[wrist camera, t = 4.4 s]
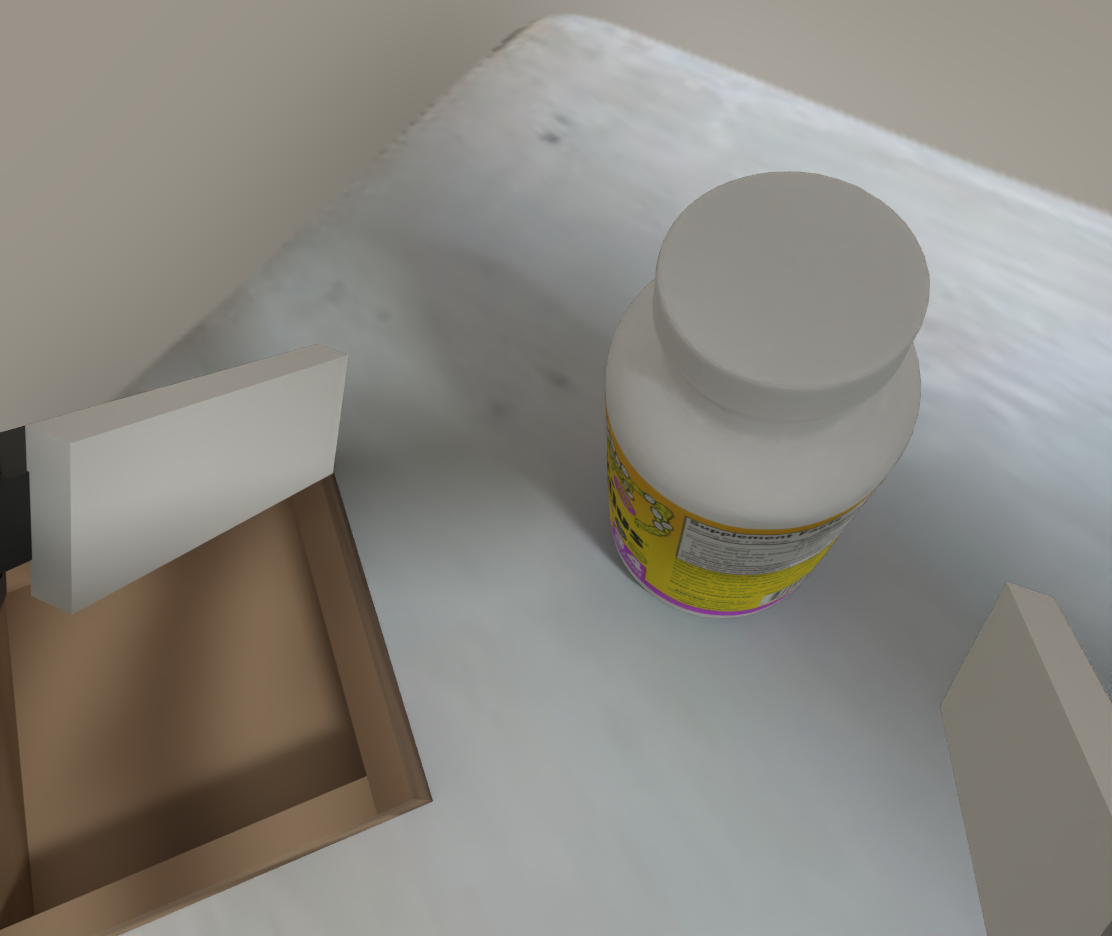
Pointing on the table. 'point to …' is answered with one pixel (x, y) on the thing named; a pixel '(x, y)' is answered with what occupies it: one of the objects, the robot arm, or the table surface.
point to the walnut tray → (196, 725)
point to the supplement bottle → (761, 388)
